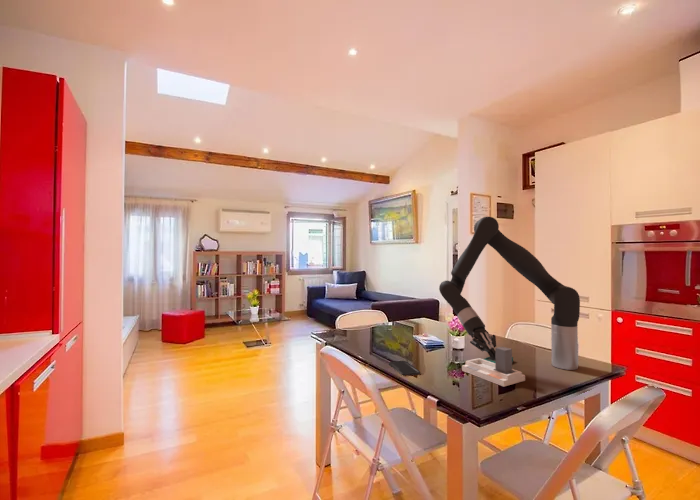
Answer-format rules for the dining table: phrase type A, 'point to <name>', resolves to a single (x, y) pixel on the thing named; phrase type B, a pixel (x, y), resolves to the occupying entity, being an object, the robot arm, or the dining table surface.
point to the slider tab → (503, 360)
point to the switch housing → (491, 372)
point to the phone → (404, 368)
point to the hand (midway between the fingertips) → (496, 359)
